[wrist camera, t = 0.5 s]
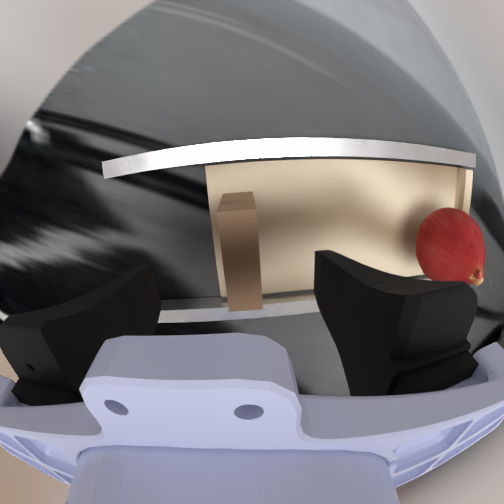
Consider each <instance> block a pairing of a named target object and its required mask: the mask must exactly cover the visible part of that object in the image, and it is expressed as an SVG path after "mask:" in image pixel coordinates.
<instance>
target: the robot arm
mask: <svg viewBox="0 0 504 504" xmlns="http://www.w3.org/2000/svg"><path fill="white" fill-rule="evenodd" d="M314 295H315V298H316V302H317V305H318V308H319V310H320V312H321V315H322V317H323V319H324V321H325V323H326V325H327V327H328V329H329V331H330V333H331V336H332V338H333V340H334V342H335V344H336V347H337V349H338V352H339V355H340V358H341V361H342V364H343V368H344V371H345V375H346V379H347V382H348V386H349V390H350V395H351V396H315V395H299V393H298V388H297V384H296V379H295V375H294V370H293V366H292V363H291V360H290V358H289V355H288V353H287V350H286V348H284V347H283V346H281V345H279V344H278V343H276V342H274V341H273V340H271V339H270V338H268V337H266V336H261V335H252V334H244V333H224V334H205V335H176V336H153V334H154V331H155V329H156V326H157V323H158V320H159V316H160V311H161V306H162V301H161V298H160V294H159V290H158V286H157V282H156V278H155V274H154V270H153V265H140V266H137V267H135V268H133V269H131V270H129V271H127V272H125V273H123V274H122V275H120V276H118V277H116V278H115V279H113V280H111V281H110V282H108V283H106V284H104V285H102V286H101V287H99V288H97V289H95V290H93V291H91V292H89V293H87V294H85V295H83V296H81V297H78V298H76V299H74V300H71V301H68V302H65V303H62V304H60V305H57V306H53V307H50V308H46V309H42V310H38V311H33V312H27V313H20V314H12V315H9V316H8V317H7V318H6V320H5V321H4V322H3V323H2V324H1V325H0V348H1V350H2V351H3V354H4V355H5V357H6V358H7V360H8V362H9V363H10V365H11V366H12V368H13V369H14V371H15V372H16V374H17V375H18V377H19V380H18V381H17V383H15V382H14V381H13V380H11V379H9V378H7V377H4V376H1V375H0V445H1V446H2V447H3V448H4V449H5V450H6V451H8V452H9V453H10V454H12V455H14V456H15V457H17V458H19V459H21V460H23V461H24V462H26V463H27V464H29V465H31V466H33V467H35V468H36V469H38V470H40V471H42V472H44V473H46V474H47V475H50V476H51V477H53V478H56V479H58V480H59V481H61V482H64V483H66V484H68V485H70V489H69V493H68V496H67V500H66V504H400V502H399V498H398V495H397V492H396V489H395V488H396V487H398V486H400V485H403V484H405V483H407V482H409V481H411V480H413V479H415V478H417V477H419V476H421V475H423V474H425V473H427V472H428V471H430V470H432V469H434V468H436V467H437V466H439V465H441V464H442V463H444V462H446V461H447V460H449V459H451V458H452V457H454V456H455V455H457V454H459V453H460V452H461V451H463V450H465V449H466V448H468V447H469V446H471V445H472V444H474V443H475V442H477V441H478V440H479V439H481V438H482V437H484V436H485V435H487V434H488V433H489V432H491V431H492V430H493V429H495V428H496V427H497V426H498V425H499V424H500V423H501V422H502V420H503V419H504V349H503V348H502V347H501V346H500V345H499V344H498V343H497V342H494V343H492V344H490V345H488V346H486V347H484V348H482V349H480V350H478V351H477V352H476V353H475V354H474V355H473V356H472V355H471V354H470V352H469V351H468V350H469V349H470V347H471V345H470V343H469V342H468V341H467V340H466V337H467V335H468V333H469V330H470V328H471V325H472V323H473V320H474V317H475V314H476V311H477V301H478V299H477V295H476V292H475V291H474V290H473V288H471V287H470V286H469V285H468V284H466V283H465V282H464V281H432V280H421V279H414V278H409V277H403V276H399V275H394V274H391V273H387V272H384V271H381V270H378V269H375V268H372V267H369V266H367V265H364V264H362V263H359V262H357V261H355V260H353V259H350V258H348V257H346V256H344V255H341V254H339V253H337V252H334V251H331V250H319V251H315V262H314Z"/></svg>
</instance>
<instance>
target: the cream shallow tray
mask: <svg viewBox="0 0 504 504" xmlns="http://www.w3.org/2000/svg"><path fill="white" fill-rule="evenodd" d="M205 170H206V180H207V190H208V199H209V208H210V217H211V225H212V233H213V242H214V249H215V257H216V265H217V272H218V279H219V287H220V293H221V297H226V296H227V300H228V308H229V312H235V311H248V310H261V309H263V302H262V294H265V293H276V292H287V291H297V290H307V289H314V262H315V251H319V250H331V251H334V252H337V253H339V254H341V255H344V256H346V257H348V258H350V259H353V260H355V261H357V262H359V263H362V264H364V265H367V266H369V267H372V268H375V269H378V270H381V271H384V272H387V273H391V274H394V275H399V276H403V277H410V276H416V275H423V274H424V273H423V271H422V269H421V267H420V265H419V263H418V260H417V257H416V237H417V234H418V231H419V228H420V225H421V224H422V222H423V221H424V219H425V218H426V217H428V216H429V215H430V214H431V213H433V212H434V211H436V210H438V209H441V208H447V207H450V208H457V209H460V210H462V211H464V212H466V213H467V214H468V215H469V209H470V201H471V191H472V178H473V171H472V170H469V169H465V168H461V167H453V166H445V165H437V164H427V163H416V162H404V161H388V160H366V159H291V160H269V161H252V162H239V163H227V164H217V165H207V166H205Z"/></svg>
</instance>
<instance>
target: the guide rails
mask: <svg viewBox="0 0 504 504" xmlns="http://www.w3.org/2000/svg"><path fill="white" fill-rule="evenodd" d="M295 156H357V157H381V158H397V159H410V160H421V161H431V162H440V163H448V164H455V165H462V166H469V167H476V154H472V153H467V152H462V151H457V150H451V149H446V148H439V147H433V146H426V145H419V144H410V143H402V142H392V141H380V140H366V139H346V138H276V139H256V140H241V141H229V142H219V143H209V144H200V145H192V146H185V147H178V148H171V149H165V150H159V151H153V152H147V153H142V154H137V155H132V156H127V157H122V158H117V159H113V160H108V161H104V162H102V167H103V174H104V179H106V178H111V177H116V176H121V175H126V174H132V173H137V172H143V171H149V170H155V169H162V168H168V167H175V166H183V165H191V164H199V163H208V162H217V161H228V160H240V159H253V158H270V157H295ZM409 278H414V279H421V280H431V279H429V278H428V277H427V276H426V275H425V274H423V275H416V276H410V277H409ZM161 301H162V306H161V311H160V316H159V320H158V323H174V322H201V321H220V320H236V319H250V318H262V317H273V316H284V315H293V314H302V313H311V312H319V311H320V310H319V308H318V305H317V302H316V298H315V295H314V289H307V290H297V291H287V292H276V293H265V294H262V302H263V309H261V310H248V311H235V312H229V308H228V300H227V296H226V297H209V298H192V299H172V300H161Z"/></svg>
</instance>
